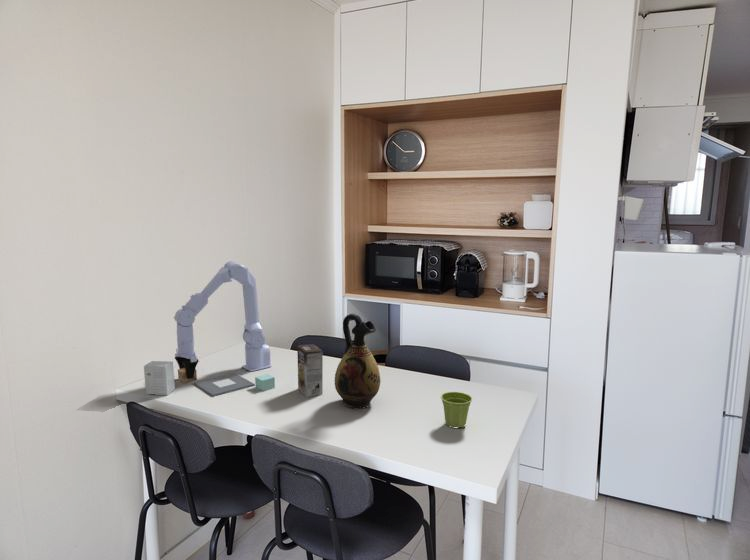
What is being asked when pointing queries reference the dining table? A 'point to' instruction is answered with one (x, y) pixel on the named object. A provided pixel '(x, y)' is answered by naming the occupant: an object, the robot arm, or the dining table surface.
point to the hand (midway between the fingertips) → (187, 376)
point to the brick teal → (265, 382)
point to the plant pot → (456, 408)
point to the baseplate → (223, 384)
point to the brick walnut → (183, 377)
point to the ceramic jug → (357, 366)
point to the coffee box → (310, 370)
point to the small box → (159, 377)
